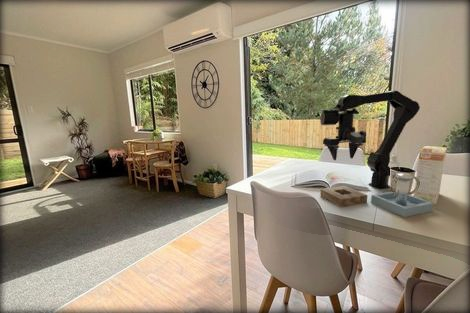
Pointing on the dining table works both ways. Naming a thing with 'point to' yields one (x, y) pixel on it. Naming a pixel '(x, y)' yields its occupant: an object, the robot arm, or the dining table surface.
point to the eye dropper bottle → (394, 161)
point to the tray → (412, 207)
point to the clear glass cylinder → (402, 188)
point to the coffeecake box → (430, 173)
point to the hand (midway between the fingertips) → (343, 159)
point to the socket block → (343, 196)
